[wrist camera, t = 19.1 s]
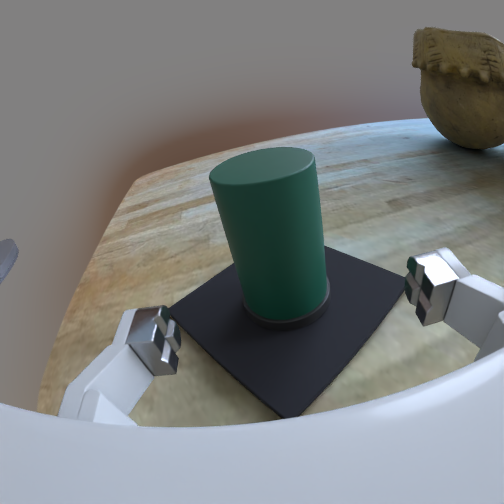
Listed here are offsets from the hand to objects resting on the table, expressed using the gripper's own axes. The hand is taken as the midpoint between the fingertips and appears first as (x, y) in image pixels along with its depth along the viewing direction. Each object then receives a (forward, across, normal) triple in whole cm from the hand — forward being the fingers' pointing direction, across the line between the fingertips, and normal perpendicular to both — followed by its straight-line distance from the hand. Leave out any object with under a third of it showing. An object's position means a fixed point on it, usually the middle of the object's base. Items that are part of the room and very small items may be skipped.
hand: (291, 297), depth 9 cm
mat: (+7, 0, +7) cm, 10 cm away
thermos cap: (+7, 0, +7) cm, 10 cm away
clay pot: (+33, -37, +8) cm, 50 cm away
